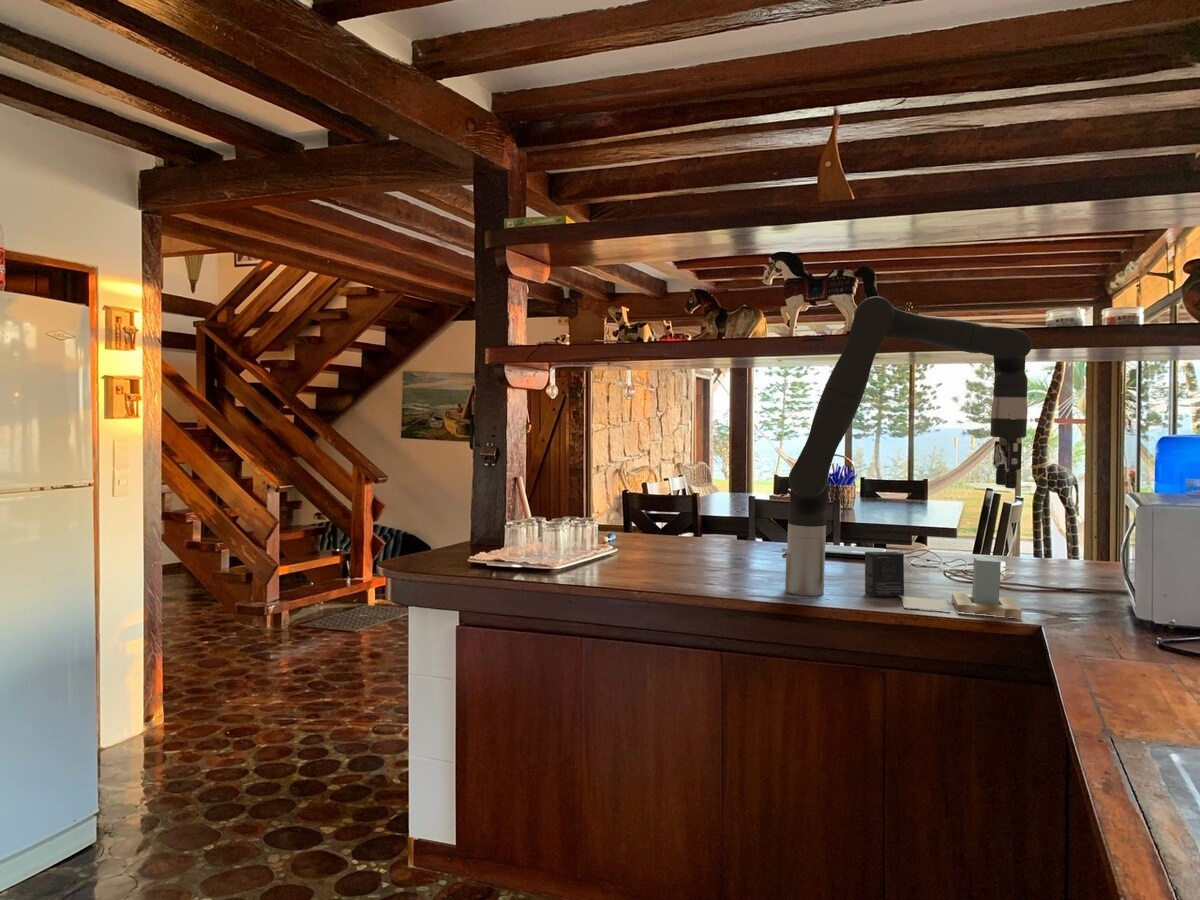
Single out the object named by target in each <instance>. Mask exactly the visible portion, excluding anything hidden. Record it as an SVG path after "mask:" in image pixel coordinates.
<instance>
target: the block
mask: <svg viewBox="0 0 1200 900" xmlns="http://www.w3.org/2000/svg"><path fill="white" fill-rule="evenodd" d="M1001 564H1002V562H1001V561H1000V559H998V558H997V557H996V558H995V557H982V556H981V557H979V556H974V557H973V568H972V569H973V570H972V572H973V573H972V592H971V593H972V603H981V604H993V605H999V597H1000V586H1001V585H1000V584H1001V566H1002V565H1001Z"/></svg>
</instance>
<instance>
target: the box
mask: <svg viewBox="0 0 1200 900" xmlns="http://www.w3.org/2000/svg"><path fill="white" fill-rule="evenodd" d="M904 555H905V554H904V553H903V552H898V551H865V552H864V581H865V582H864V592H865V594H867V595H869V596H872V597H899V596H900V597H901V596H903V597H905V569H904V568H905V563H904V562H905V561H904V560H905V557H904Z"/></svg>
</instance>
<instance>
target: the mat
mask: <svg viewBox="0 0 1200 900" xmlns="http://www.w3.org/2000/svg"><path fill="white" fill-rule="evenodd" d="M900 597H901V598H900V599H901V603H902V602H903V603H902V606H904V607H903V609H904V608H914V609H927V610H928V609H929V610H935V609H940V608H943V607H944V608H946V607H947V608H949V609H950V607H949V605H948V602H947V601H946V599H940V598H939V599H938V598H937V599H936V598H928V597H927V598H925V597H912V596H900Z"/></svg>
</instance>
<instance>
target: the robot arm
mask: <svg viewBox="0 0 1200 900" xmlns="http://www.w3.org/2000/svg"><path fill="white" fill-rule="evenodd" d="M850 326H851V327H850V331H849V333H848V337H847V341H846V343H845V346H844V348H843V350H842V352H841V354H840V356H839V357H838V360H837V362H836V363H835V365H834V367H833V369H832V371H831V373H830V375H829V377H828V379H827V382H826V383H825V387H824V388H823V391H822V393H821V395H820V398H819V400H818V404H817V405H816V409H815V411H814V416H813V419H812V423H811V425H810V426H811V427H810V430H809V433H808V437H807V440H806V441H805V444H804V446H803V448H802V450H801V452H800V454H799V456H798V458H797V459H796V461H795V462H794V465H793V466H792V467H791V470H790V471H789V474H788V484H789V487H790V489H789V507H788V515H787V516H788V517H787V519H788V520H787V548H786V550H787V551H786V556H785V578H784V581H785V582H784V583H785V584H784V588H785V589H784V593H785V594H786V593H787V594H792V595H797V596H810V597H811V596H821V595H824V592H825V591H824V590H825V565H826V563H825V562H826V533H827V516H828V499H829V498H828V493H829V474H830V470H831V466H832V463H833V460H834V456H835V454H836V451H837V449H838V447H839V446H840V443H841V442H842V440H843V439H844V437H845V435H846V434H847V432H848V431H849V429H850V426H851V424H852V423H853V420H854V418H855V416H856V414H857V412H858V410H859V407H860V405H861V402H862V399H863V397H864V395H865V390H866V388H867V385H868V381H869V378H870V373H871V370H872V366H873V362H874V360H875V357H876V355H877V352H879V351H878V350H879V349H880V347H881V345H882V344H883V341H884V339H885V338H895V339H904V340H911V341H914V342H915V341H916V342H921V343H925V344H929V345H934V346H937V347H941V348H947V349H949V350H955V351H959V352H964V353H969V354H984V355H988V356H993V368H994V369H993V370H994V381H993V395H992V396H993V397H992V403H991V410H990V411H991V412H990V433H989V434H990V436H991V437H992V438H999V439H998V440H995V441H994V447H993V448H994V451H993V462H992V464H993V466H994V468H995V469H996V470H995V484H996V485H998V486H1004V487H1005V488H1006V489H1016V487H1017V479H1018V477H1017V476H1018V475H1017V474H1018V472H1019V470H1021V468H1022V446H1023V445H1022V443H1021V442H1018V441H1017V439H1025V438H1026V437H1027V428H1028V427H1027V426H1028V410H1029V409H1028V408H1029V407H1028V398H1027V397H1028V382H1029V381H1028V376H1027V374H1026V357H1027V356H1028V355H1029V353H1030V352H1031V350H1032V347H1033V342H1032V339H1031V337H1030V336H1029V334H1027V332H1025V331H1023V330H1020V329H1016V328H1011V327H1003V326H996V325H995V326H993V325H985V324H982V323H978V322H973V321H969V320H965V319H964V320H963V319H957V318H951V317H942V316H931V315H924V314H923V315H922V314H917V313H912V312H908V311H904V310H901V309H898V308H896V307H893V305H892V303H891V302H890V301H889V300H887V299H886V298H884V297H882V296H871V297H868V298H865V299H864V300H862V301H861V302H860V303H859V304H858V305H857V306H856V309H855V311H854V314H853V319H852V322H851V325H850Z"/></svg>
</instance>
